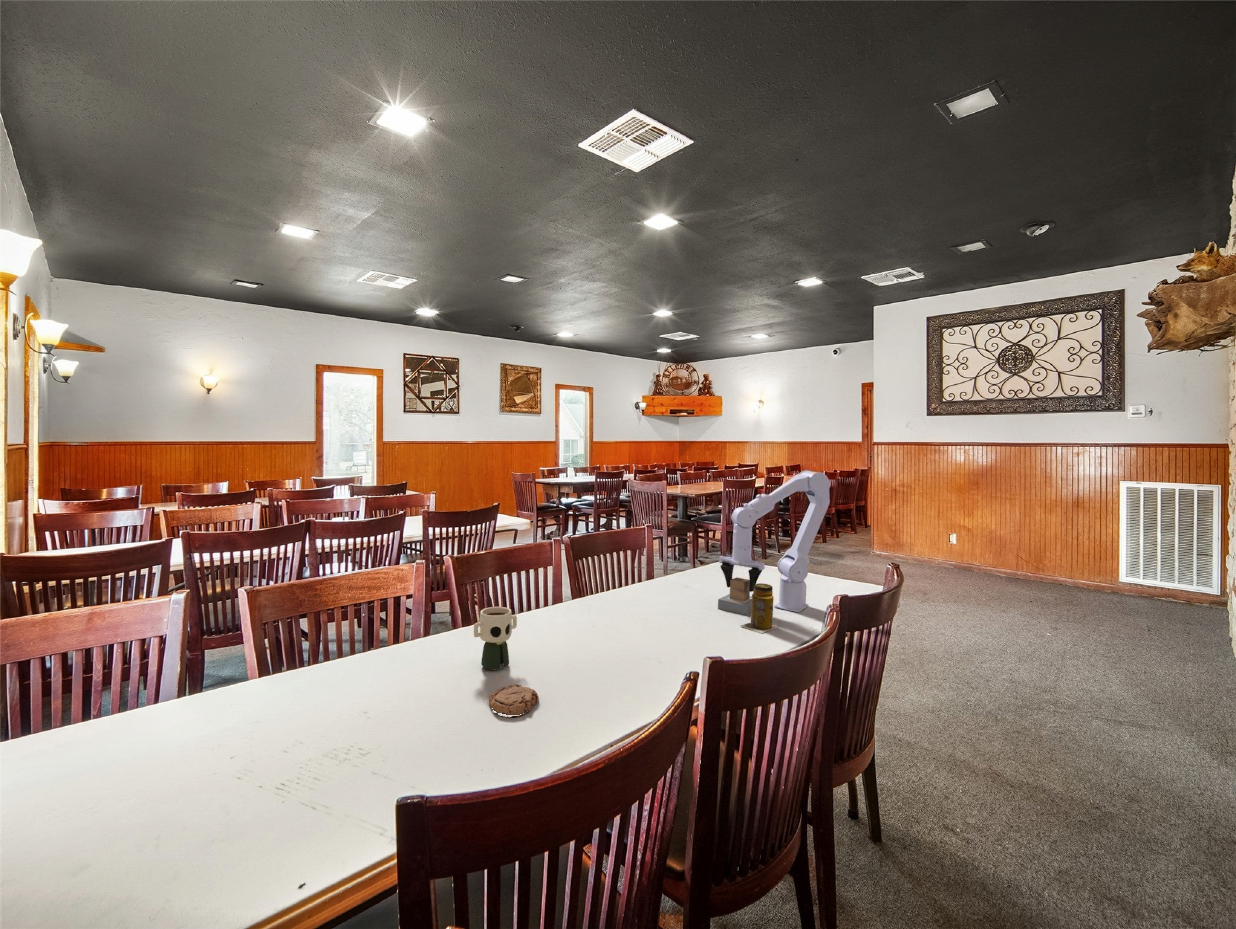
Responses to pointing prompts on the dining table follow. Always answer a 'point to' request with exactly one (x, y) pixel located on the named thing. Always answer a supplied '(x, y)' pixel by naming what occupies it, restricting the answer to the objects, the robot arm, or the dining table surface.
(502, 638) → the character mug
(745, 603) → the slate base
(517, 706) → the cookie
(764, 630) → the condiment
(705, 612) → the dining table surface
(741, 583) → the walnut block
